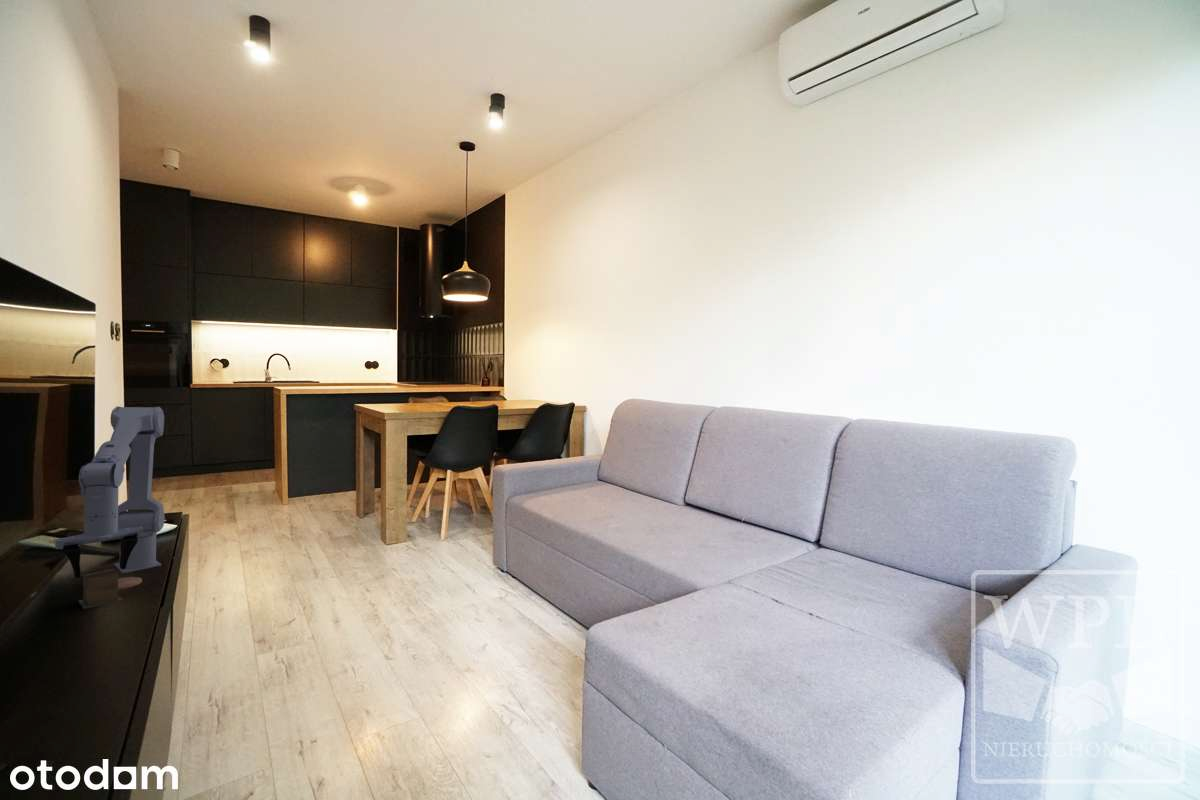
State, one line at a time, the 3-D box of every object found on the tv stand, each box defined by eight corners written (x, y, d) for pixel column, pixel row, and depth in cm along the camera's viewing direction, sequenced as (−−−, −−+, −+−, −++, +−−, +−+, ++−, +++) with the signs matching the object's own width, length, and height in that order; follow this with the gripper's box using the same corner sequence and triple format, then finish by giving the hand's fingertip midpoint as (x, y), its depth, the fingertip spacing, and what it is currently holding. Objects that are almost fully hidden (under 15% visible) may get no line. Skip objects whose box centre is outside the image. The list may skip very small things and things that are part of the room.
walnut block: (83, 600, 120) (83, 574, 119) (112, 593, 124) (112, 569, 123) (87, 606, 117) (87, 580, 116) (117, 599, 121) (117, 574, 120)
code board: (72, 601, 120) (72, 600, 120) (119, 591, 126) (119, 590, 126) (79, 612, 114) (79, 611, 114) (127, 601, 121) (127, 599, 121)
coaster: (95, 585, 128) (95, 583, 128) (137, 576, 135) (137, 574, 135) (102, 594, 124) (102, 592, 124) (145, 585, 130) (145, 582, 130)
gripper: (59, 523, 111) (58, 585, 112) (146, 511, 123) (146, 568, 123) (53, 517, 116) (53, 577, 116) (139, 506, 127) (138, 561, 128)
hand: (100, 572), depth 120 cm, fingers open, 7 cm apart
